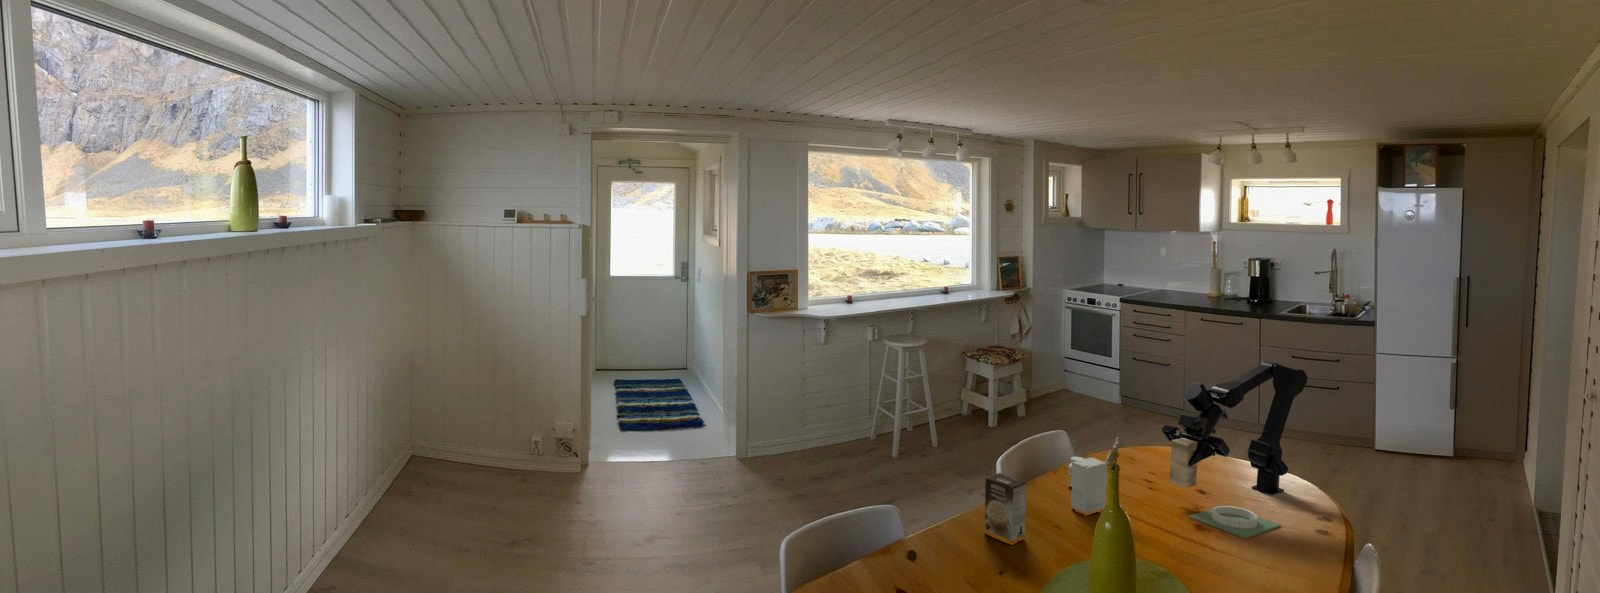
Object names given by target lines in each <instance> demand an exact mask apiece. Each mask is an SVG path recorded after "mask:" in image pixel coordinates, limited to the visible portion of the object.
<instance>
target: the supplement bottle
mask: <svg viewBox="0 0 1600 593" xmlns="http://www.w3.org/2000/svg"><path fill="white" fill-rule="evenodd" d="M1084 459H1085V458H1084V457H1081V456H1071V457H1070V463H1069V464H1068V468H1067V469H1068V470H1067V485H1068V484H1069V485H1071V486H1072V462H1076V461H1080V460H1084Z"/></svg>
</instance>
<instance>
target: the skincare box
mask: <svg viewBox="0 0 1600 593" xmlns="http://www.w3.org/2000/svg"><path fill="white" fill-rule="evenodd" d="M1106 463H1107V462H1104V461H1102V460H1100V459H1097V458H1095V457H1088V458H1084V460H1080V461H1076V462H1072V489H1071V492H1070V493H1071V494H1070V495H1071V498H1070V499H1071V501H1070V503H1071V504H1070V506H1071V507H1073V508H1075V509H1077V510H1080V511H1082V512H1085V513H1090V512H1094V511H1096V510H1099V509H1101V508H1102V509H1101V510H1100V512H1099V513H1102V512H1101V511H1102V510H1103V509H1104V507H1105V506H1107V478H1108V477H1107V476H1108V474H1107V473H1108V469H1107V470H1106ZM1071 507H1070V508H1071Z"/></svg>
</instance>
